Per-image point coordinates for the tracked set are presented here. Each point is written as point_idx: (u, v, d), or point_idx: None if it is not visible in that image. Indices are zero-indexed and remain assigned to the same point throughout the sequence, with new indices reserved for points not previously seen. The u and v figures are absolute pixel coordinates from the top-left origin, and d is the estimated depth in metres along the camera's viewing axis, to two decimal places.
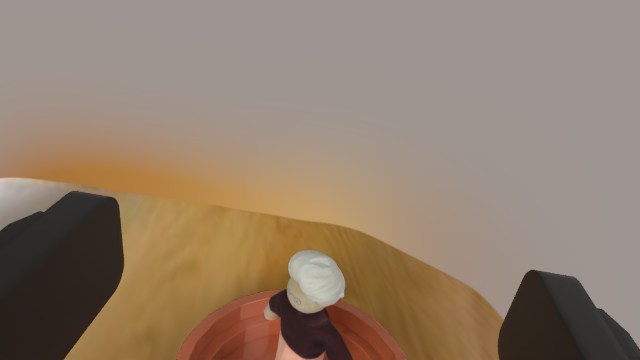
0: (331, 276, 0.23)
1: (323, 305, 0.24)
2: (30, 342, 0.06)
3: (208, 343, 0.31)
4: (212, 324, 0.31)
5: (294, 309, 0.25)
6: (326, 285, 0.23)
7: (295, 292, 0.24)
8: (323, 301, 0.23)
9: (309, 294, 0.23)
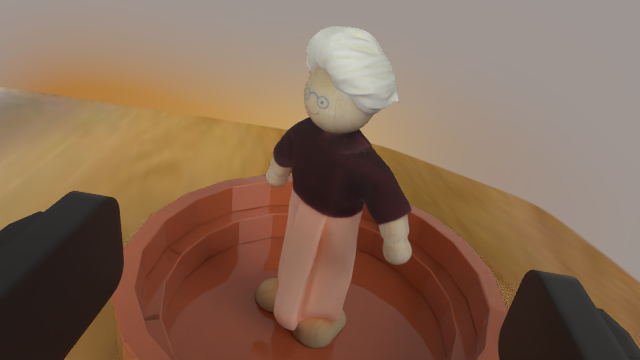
0: (379, 56, 0.14)
1: (366, 106, 0.14)
2: (30, 342, 0.06)
3: (185, 232, 0.22)
4: (191, 203, 0.21)
5: (315, 134, 0.16)
6: (373, 66, 0.14)
7: (319, 87, 0.14)
8: (368, 94, 0.14)
9: (345, 77, 0.13)
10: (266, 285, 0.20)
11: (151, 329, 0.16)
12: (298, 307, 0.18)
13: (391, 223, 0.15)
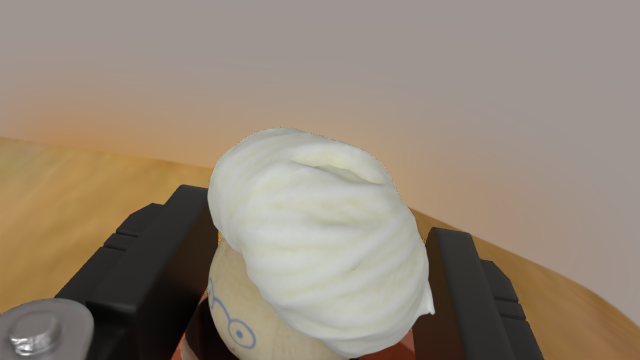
0: (390, 222, 0.05)
1: (354, 353, 0.05)
2: (168, 319, 0.07)
3: None
4: None
5: None
6: (371, 262, 0.05)
7: (233, 296, 0.06)
8: (358, 337, 0.05)
9: (293, 304, 0.05)
10: None
11: None
12: None
13: None
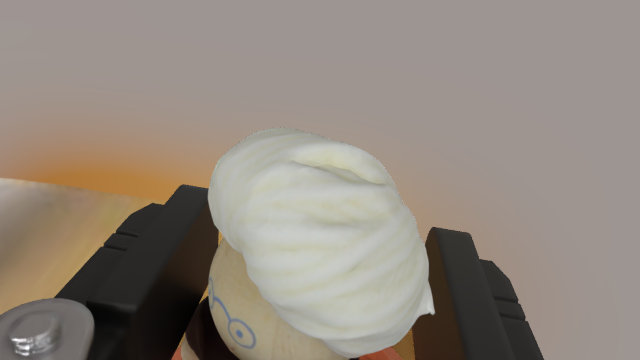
0: (389, 222, 0.05)
1: (354, 352, 0.05)
2: (168, 319, 0.07)
3: None
4: None
5: None
6: (371, 261, 0.05)
7: (233, 295, 0.06)
8: (358, 338, 0.05)
9: (292, 304, 0.05)
10: None
11: None
12: None
13: None
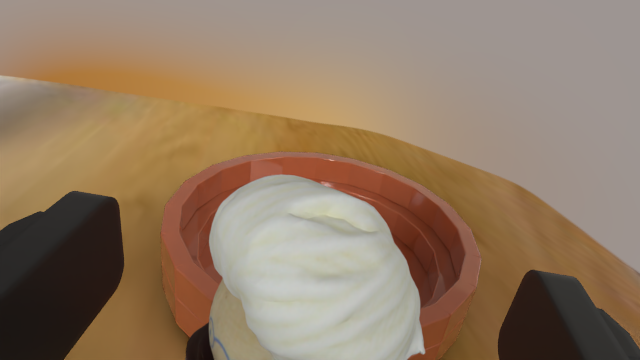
0: (381, 271, 0.06)
1: None
2: (30, 343, 0.06)
3: (212, 197, 0.25)
4: (217, 172, 0.25)
5: None
6: (363, 311, 0.05)
7: (232, 338, 0.06)
8: None
9: (288, 353, 0.05)
10: None
11: None
12: None
13: None
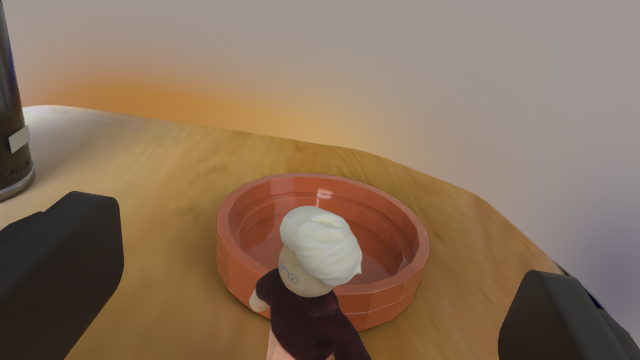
0: (343, 241, 0.16)
1: (331, 284, 0.16)
2: (30, 342, 0.06)
3: (245, 206, 0.36)
4: (248, 189, 0.36)
5: (289, 292, 0.18)
6: (336, 254, 0.16)
7: (290, 265, 0.16)
8: (331, 278, 0.16)
9: (311, 266, 0.15)
10: None
11: None
12: None
13: None
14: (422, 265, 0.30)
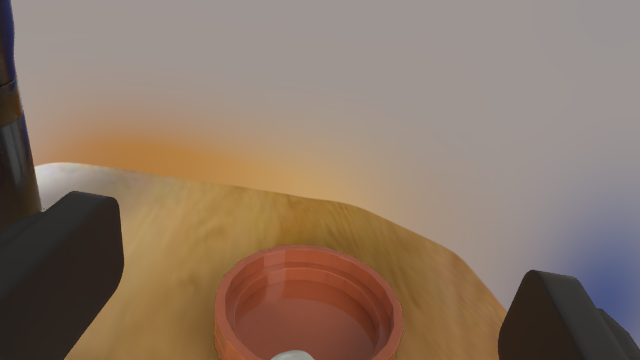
0: None
1: None
2: (30, 342, 0.06)
3: (240, 282, 0.40)
4: (243, 267, 0.40)
5: None
6: None
7: None
8: None
9: None
10: None
11: None
12: None
13: None
14: (395, 348, 0.34)
